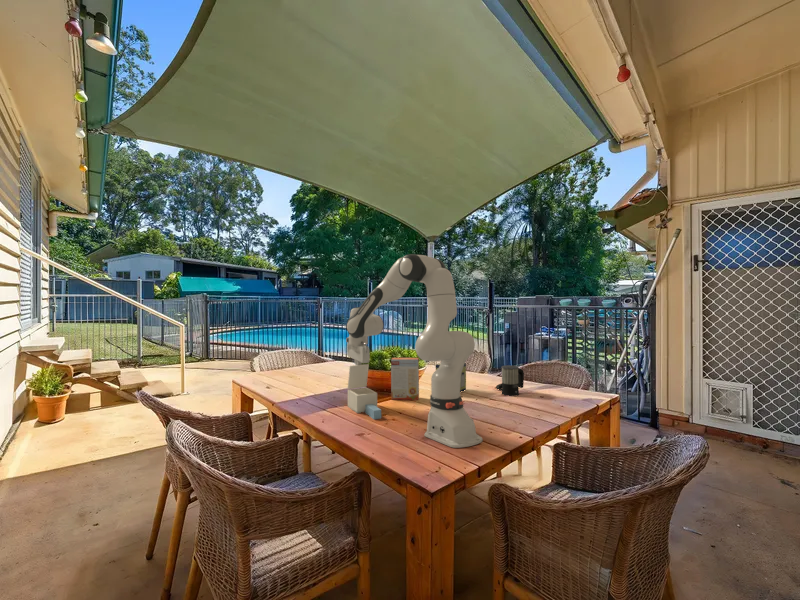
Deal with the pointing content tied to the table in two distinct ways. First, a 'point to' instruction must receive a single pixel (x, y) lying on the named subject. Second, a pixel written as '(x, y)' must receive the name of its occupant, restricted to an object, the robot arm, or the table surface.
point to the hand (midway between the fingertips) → (358, 369)
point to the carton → (361, 399)
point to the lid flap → (358, 376)
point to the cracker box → (405, 379)
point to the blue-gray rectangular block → (373, 411)
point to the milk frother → (511, 380)
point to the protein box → (463, 377)
